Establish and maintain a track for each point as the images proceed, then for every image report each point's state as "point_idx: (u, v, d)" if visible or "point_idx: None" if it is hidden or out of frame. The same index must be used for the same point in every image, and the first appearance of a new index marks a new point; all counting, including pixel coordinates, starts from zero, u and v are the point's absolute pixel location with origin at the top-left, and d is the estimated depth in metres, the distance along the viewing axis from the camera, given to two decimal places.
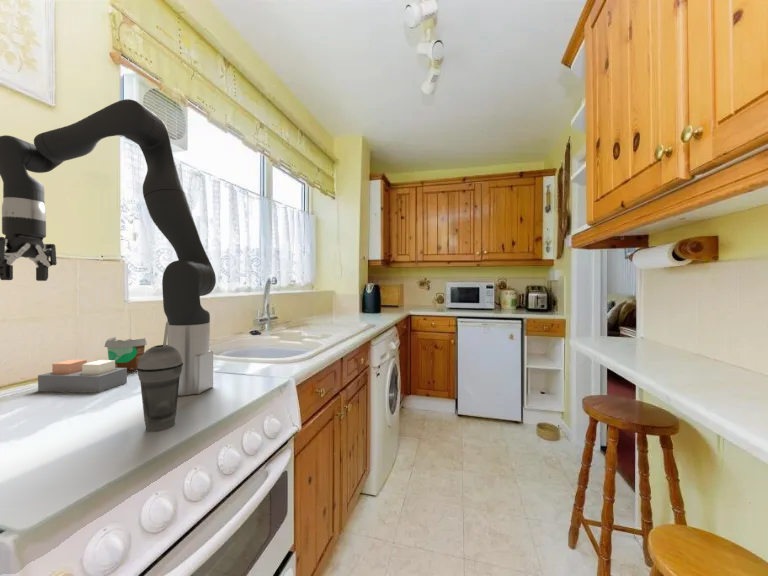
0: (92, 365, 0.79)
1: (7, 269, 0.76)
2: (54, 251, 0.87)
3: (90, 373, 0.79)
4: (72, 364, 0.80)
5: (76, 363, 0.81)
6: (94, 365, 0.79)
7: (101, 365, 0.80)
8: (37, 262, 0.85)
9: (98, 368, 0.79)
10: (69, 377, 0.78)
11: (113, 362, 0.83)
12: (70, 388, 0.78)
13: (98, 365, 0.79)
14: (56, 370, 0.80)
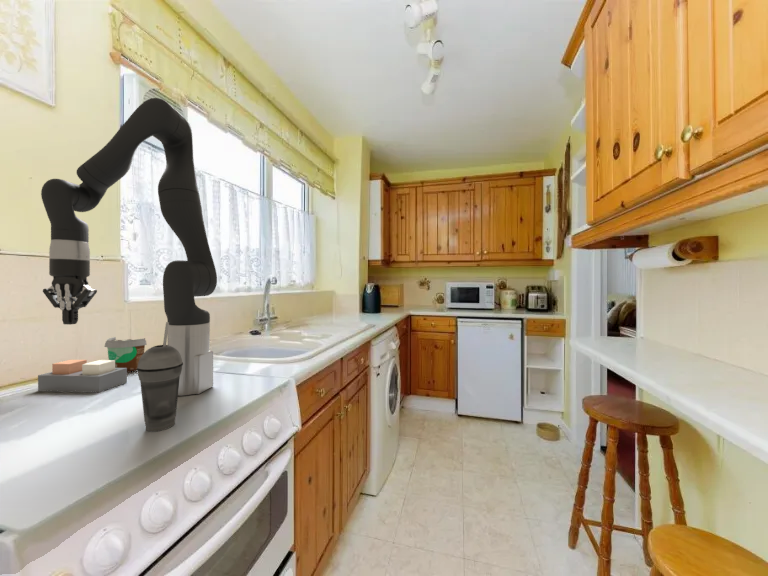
0: (92, 365, 0.79)
1: None
2: None
3: (90, 373, 0.79)
4: (72, 364, 0.80)
5: (76, 363, 0.81)
6: (94, 365, 0.79)
7: (101, 365, 0.80)
8: None
9: (98, 368, 0.79)
10: (69, 377, 0.78)
11: (113, 362, 0.83)
12: (70, 388, 0.78)
13: (98, 365, 0.79)
14: (56, 370, 0.80)
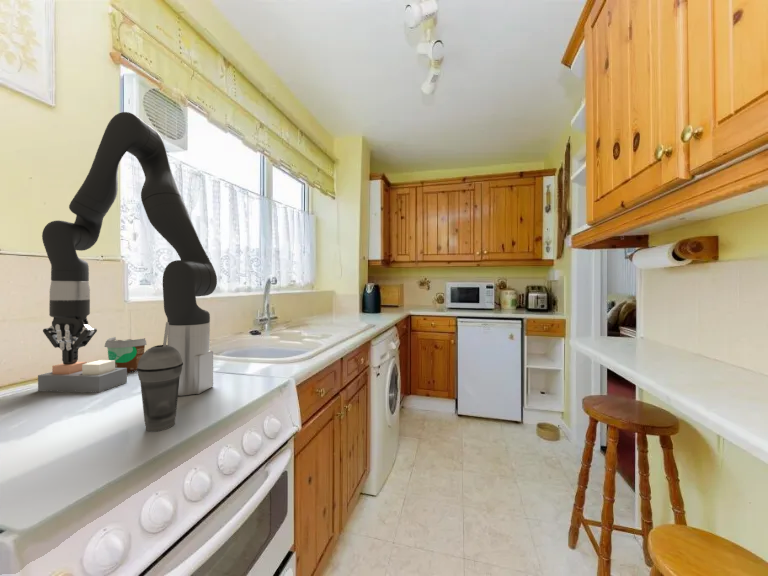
0: (92, 365, 0.79)
1: None
2: None
3: (90, 373, 0.79)
4: (72, 366, 0.80)
5: (76, 365, 0.81)
6: (94, 365, 0.79)
7: (101, 365, 0.80)
8: None
9: (98, 368, 0.79)
10: (69, 377, 0.78)
11: (113, 362, 0.83)
12: (70, 388, 0.78)
13: (98, 365, 0.79)
14: (56, 372, 0.80)
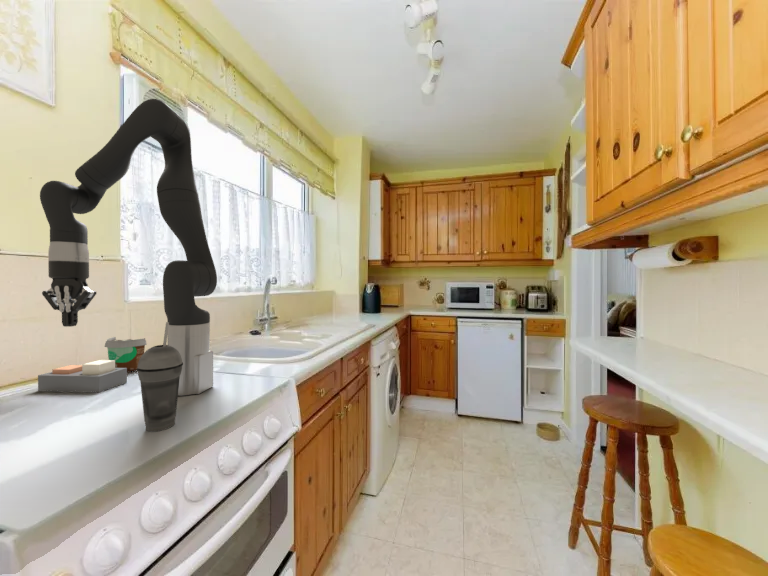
0: (92, 365, 0.79)
1: None
2: None
3: (90, 373, 0.79)
4: (72, 370, 0.80)
5: (76, 369, 0.81)
6: (94, 365, 0.79)
7: (101, 365, 0.80)
8: None
9: (98, 368, 0.79)
10: (69, 377, 0.78)
11: (113, 362, 0.83)
12: (70, 388, 0.78)
13: (98, 365, 0.79)
14: None
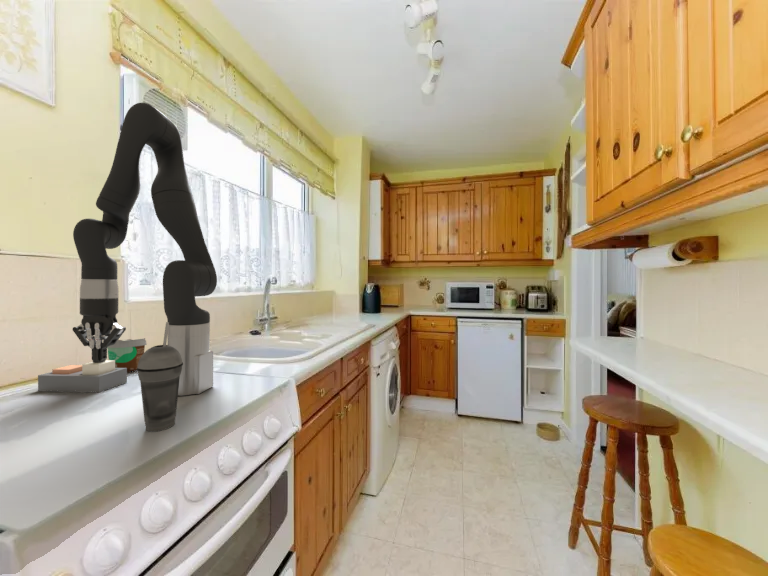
0: (92, 365, 0.79)
1: None
2: None
3: (90, 373, 0.79)
4: (72, 370, 0.80)
5: (76, 369, 0.81)
6: (94, 365, 0.79)
7: (101, 365, 0.80)
8: None
9: (98, 368, 0.79)
10: (69, 377, 0.78)
11: (113, 362, 0.83)
12: (70, 388, 0.78)
13: (98, 365, 0.79)
14: None
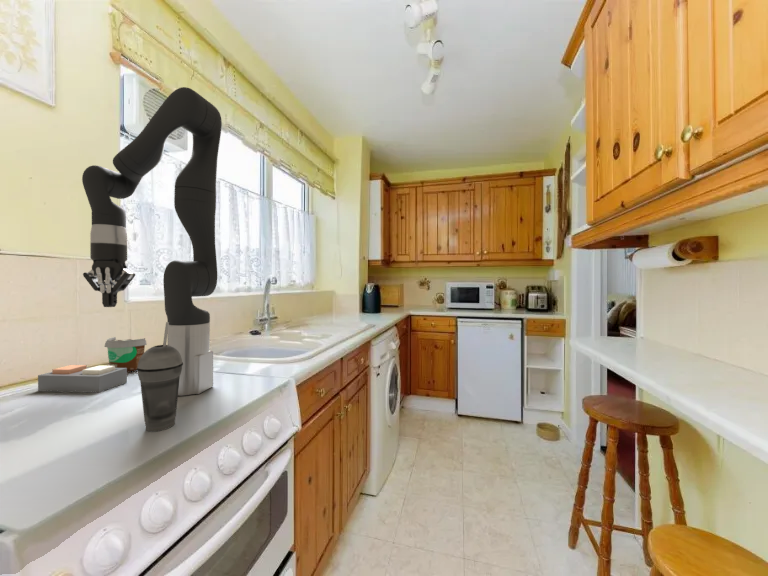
0: (92, 371, 0.79)
1: None
2: None
3: None
4: (72, 370, 0.80)
5: (76, 369, 0.81)
6: (94, 371, 0.79)
7: (101, 371, 0.80)
8: None
9: (98, 374, 0.79)
10: (69, 377, 0.78)
11: (113, 367, 0.83)
12: (70, 388, 0.78)
13: (98, 371, 0.79)
14: None
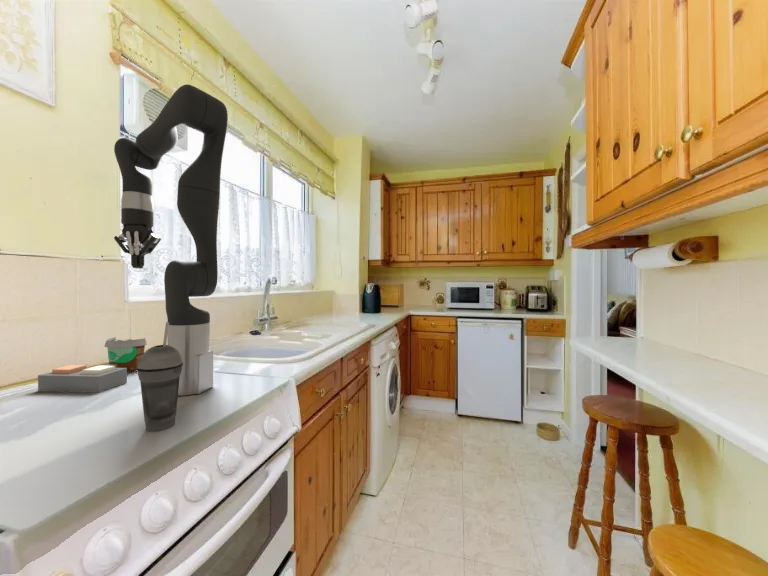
0: (92, 371, 0.79)
1: None
2: None
3: None
4: (72, 370, 0.80)
5: (76, 369, 0.81)
6: (94, 371, 0.79)
7: (101, 371, 0.80)
8: None
9: (98, 374, 0.79)
10: (69, 377, 0.78)
11: (113, 367, 0.83)
12: (70, 388, 0.78)
13: (98, 371, 0.79)
14: None
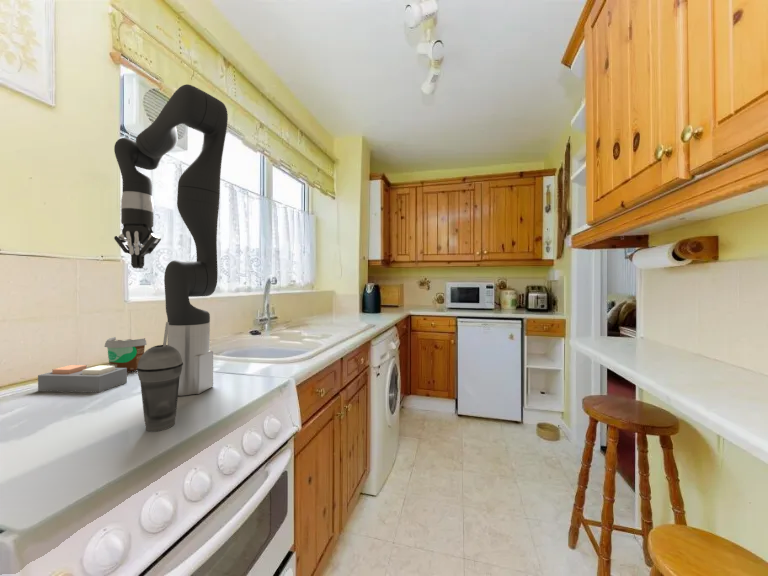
0: (92, 371, 0.79)
1: None
2: None
3: None
4: (72, 370, 0.80)
5: (76, 369, 0.81)
6: (94, 371, 0.79)
7: (101, 371, 0.80)
8: None
9: (98, 374, 0.79)
10: (69, 377, 0.78)
11: (113, 367, 0.83)
12: (70, 388, 0.78)
13: (98, 371, 0.79)
14: None
